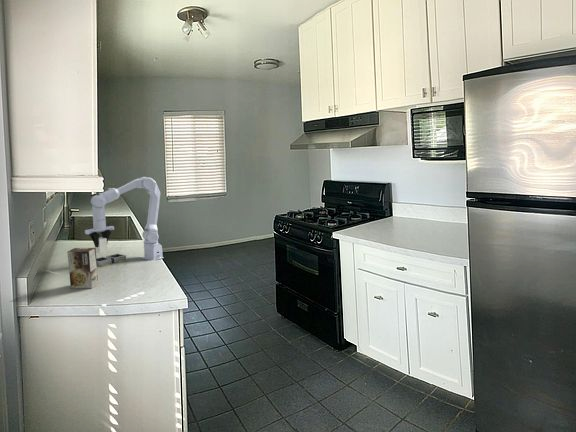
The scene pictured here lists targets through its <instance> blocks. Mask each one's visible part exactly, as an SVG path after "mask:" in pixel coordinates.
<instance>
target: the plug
mask: <svg viewBox="0 0 576 432" xmlns="http://www.w3.org/2000/svg"><path fill="white" fill-rule="evenodd" d="M94 248H96V254H97V253H98V254H104V253H107V252H108V243H107V238H103V237H102V236H101V237H99V247H95V246H94Z"/></svg>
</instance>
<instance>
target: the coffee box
mask: <svg viewBox="0 0 576 432" xmlns="http://www.w3.org/2000/svg"><path fill="white" fill-rule="evenodd" d="M66 253H67V261H68V262H67V263H68V271H69V274H68V275H69V284H70V286H69V287H70V289H93V288H94V287H96V286H98V284H99V277H98V267H97V261H96V258H97V253H96V248H95V247H74V248H72V249H70V250H68V251H67V252H66Z"/></svg>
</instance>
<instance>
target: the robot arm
mask: <svg viewBox="0 0 576 432" xmlns="http://www.w3.org/2000/svg"><path fill="white" fill-rule="evenodd" d="M134 189H143V190H145V191H146V192H147V194H148V195H149V202H148V211H147V220H146V224H145V227H144V230H143V232H142V234H141V235H142V238H143V239H144V241H143V253H144V254H143V256H142V257H140V258H141V259H143V260H144V259H145V260H149V261H157V260H160V259H161V260H162V259H164V256H163V246H162V244H160V243H159V238H160V237H159V233H158V231H159V230H158V225H157V224H158V219H159V216H158V215H159V209H160V200H161V190H160V189H159V186H158V183H157V182H156V181H155V179H154V178H152V177H147V176H141V177H138V178H136V179H133V180H131V181H129V182H128V183H126V184H124V185H122V186H120V187H117V188H115V187H112V188H111V187H109V188H107V190H106V191H105V190H104V192H99V193H98V194H99V195H98V194H97V195H94V196H92V197H91V199H90V204H91V205H92V208H91V209H92V225H93V226H92V227H93V228H90V229H89V228H88V229H85V230H84V234H85V235H89V237H90V238H91V240H92V242H93V245H94V248H95V247H99V238H100V234H101V237H103V238H107V244H108V241H109V238H110V236H111V234H112V231H115V226H114V225H109V226H107V220H106V210H105V208H106V207H105V206H106V204H110V203H112V202H113V201H116V200H117V199H119V198H120V195H122V194H125V193H127V192H129V191H132V190H134ZM160 257H161V258H160Z"/></svg>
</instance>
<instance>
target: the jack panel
mask: <svg viewBox="0 0 576 432" xmlns="http://www.w3.org/2000/svg"><path fill="white" fill-rule="evenodd" d="M96 261H97V268H103V267H106V266H109V265H113V264H118V263H122V262H124V261H125V262H126V261H127V255H125V254H122V253H114V254H110V255H106V256H105V257H104V256H101V257H96Z"/></svg>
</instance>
